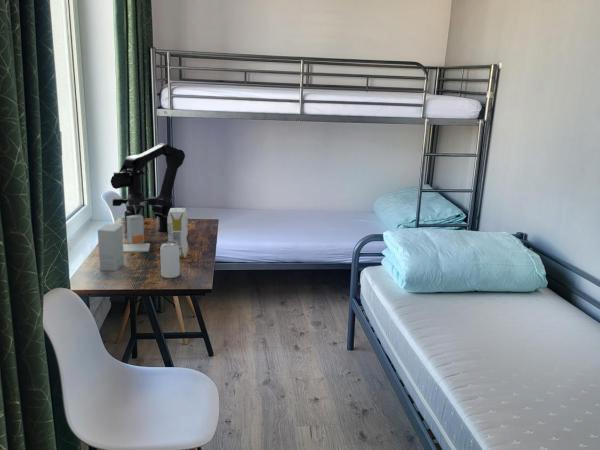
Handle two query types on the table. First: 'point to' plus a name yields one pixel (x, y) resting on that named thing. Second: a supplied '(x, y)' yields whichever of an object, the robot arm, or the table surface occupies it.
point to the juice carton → (178, 229)
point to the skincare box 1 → (110, 247)
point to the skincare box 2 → (135, 229)
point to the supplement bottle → (129, 214)
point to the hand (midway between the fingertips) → (136, 220)
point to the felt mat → (136, 247)
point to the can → (170, 259)
